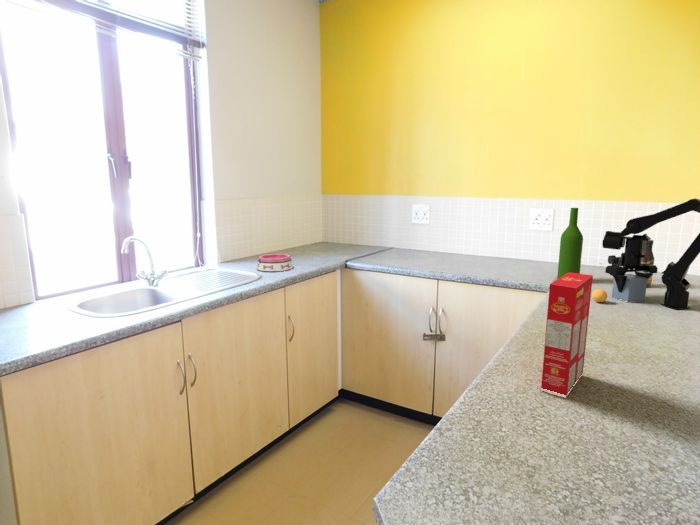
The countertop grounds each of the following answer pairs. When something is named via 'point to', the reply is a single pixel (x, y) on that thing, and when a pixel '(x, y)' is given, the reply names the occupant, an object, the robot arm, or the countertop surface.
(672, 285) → the robot arm
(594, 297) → the ball
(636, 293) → the grey-blue cube
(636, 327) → the countertop surface
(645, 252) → the sauce bottle
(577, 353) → the food packaging
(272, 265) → the dog bowl
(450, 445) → the countertop surface
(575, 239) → the wine bottle
